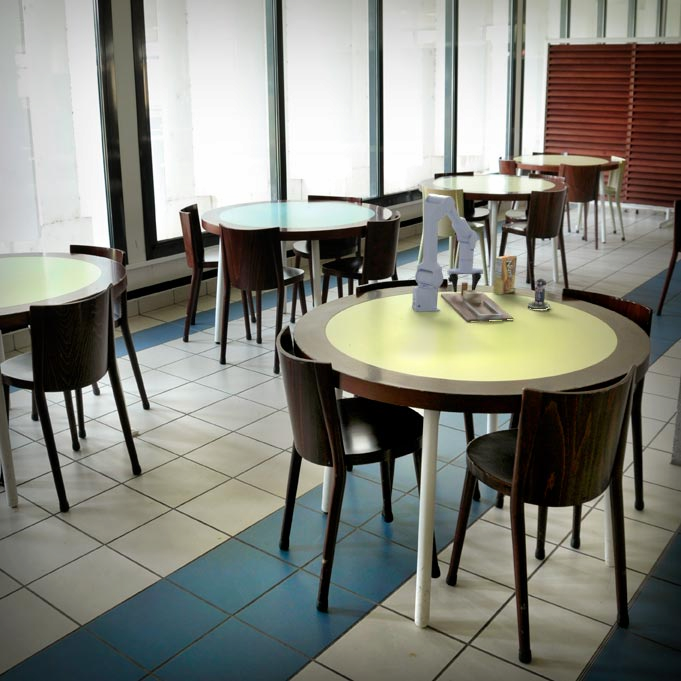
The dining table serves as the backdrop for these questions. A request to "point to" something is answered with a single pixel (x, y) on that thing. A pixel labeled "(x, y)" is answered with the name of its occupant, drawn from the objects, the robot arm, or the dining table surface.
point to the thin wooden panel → (476, 308)
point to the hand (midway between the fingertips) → (464, 291)
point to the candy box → (504, 274)
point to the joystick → (470, 294)
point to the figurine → (539, 296)
